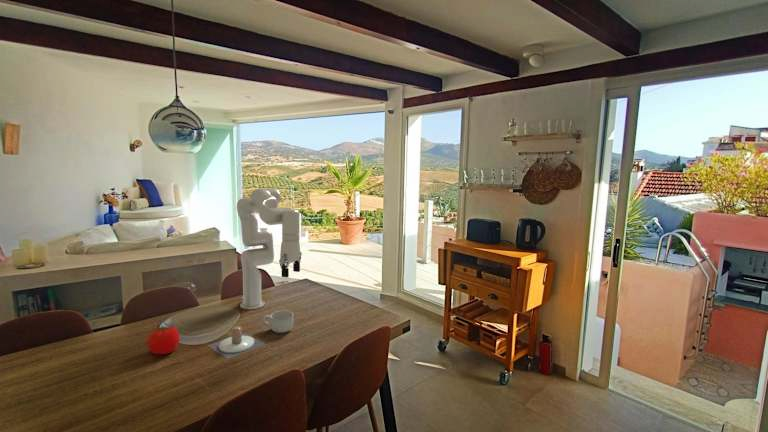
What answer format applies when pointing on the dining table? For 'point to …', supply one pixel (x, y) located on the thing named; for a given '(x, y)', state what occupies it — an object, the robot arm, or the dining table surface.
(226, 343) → the lid
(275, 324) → the teacup
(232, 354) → the mat
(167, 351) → the tomato
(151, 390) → the dining table surface
